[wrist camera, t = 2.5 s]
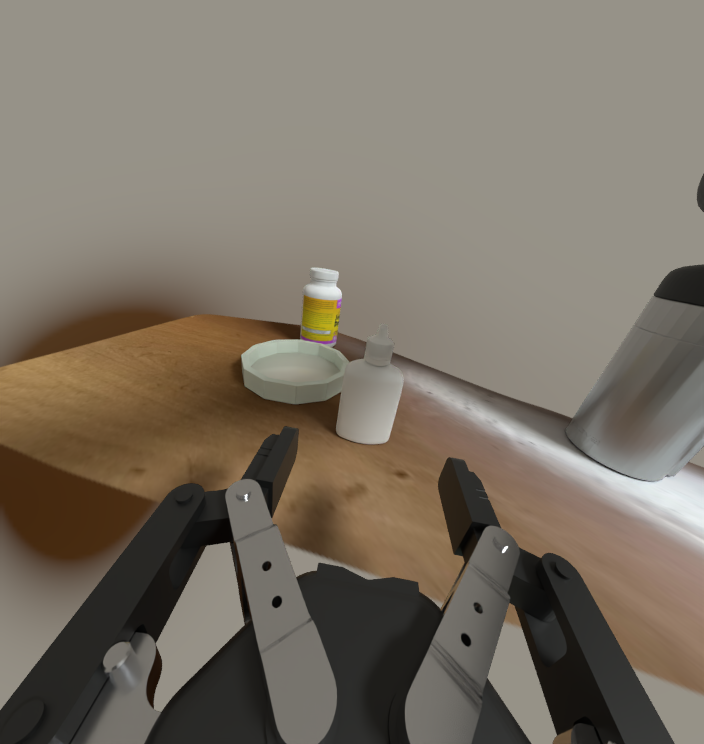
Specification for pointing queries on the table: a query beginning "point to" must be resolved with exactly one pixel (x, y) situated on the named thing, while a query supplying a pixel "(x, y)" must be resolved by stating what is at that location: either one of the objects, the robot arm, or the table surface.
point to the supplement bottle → (321, 307)
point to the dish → (293, 371)
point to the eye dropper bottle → (370, 393)
